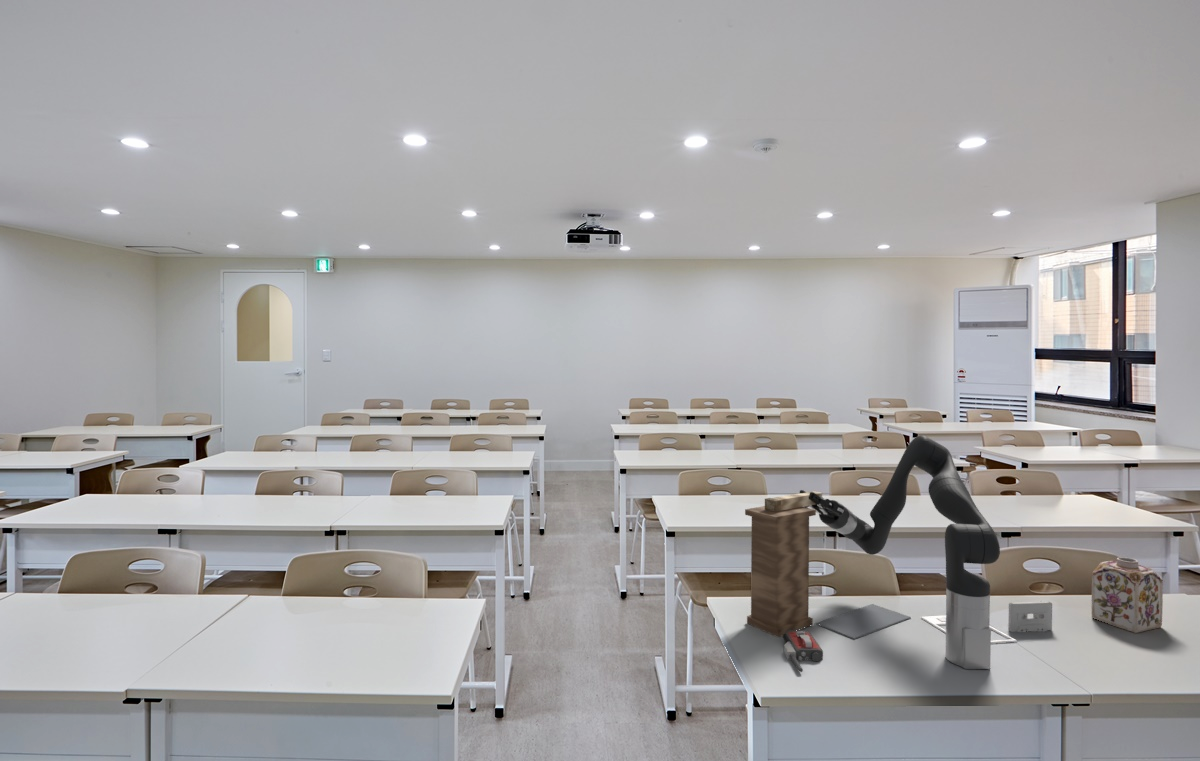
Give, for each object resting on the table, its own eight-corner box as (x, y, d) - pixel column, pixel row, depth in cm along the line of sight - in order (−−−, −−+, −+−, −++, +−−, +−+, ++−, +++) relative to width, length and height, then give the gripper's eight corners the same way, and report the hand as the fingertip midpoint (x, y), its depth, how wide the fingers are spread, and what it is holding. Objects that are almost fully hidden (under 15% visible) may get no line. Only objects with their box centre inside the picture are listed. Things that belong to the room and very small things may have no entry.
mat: (853, 639, 169) (854, 638, 169) (816, 624, 179) (816, 622, 179) (910, 618, 183) (910, 616, 183) (872, 605, 193) (872, 603, 193)
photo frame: (968, 613, 185) (1016, 639, 167) (968, 617, 185) (1016, 643, 167) (921, 616, 183) (965, 642, 165) (921, 620, 183) (965, 647, 165)
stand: (775, 637, 170) (776, 517, 169) (744, 624, 179) (745, 509, 178) (814, 624, 179) (815, 509, 178) (783, 612, 188) (784, 502, 187)
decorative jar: (1163, 628, 177) (1165, 562, 176) (1137, 634, 172) (1138, 567, 172) (1115, 612, 188) (1116, 551, 187) (1089, 618, 183) (1090, 555, 183)
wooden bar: (775, 512, 174) (776, 501, 174) (764, 509, 178) (764, 498, 178) (823, 503, 185) (823, 493, 185) (812, 501, 189) (812, 490, 189)
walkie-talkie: (775, 640, 170) (796, 676, 150) (775, 623, 170) (796, 657, 150) (808, 640, 169) (834, 677, 149) (809, 623, 169) (834, 658, 149)
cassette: (1048, 628, 176) (1048, 600, 176) (1053, 631, 174) (1054, 603, 174) (1006, 630, 175) (1007, 602, 175) (1011, 632, 174) (1012, 604, 173)
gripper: (822, 501, 199) (790, 478, 191) (863, 510, 187) (830, 485, 179) (814, 524, 197) (781, 501, 189) (854, 534, 185) (821, 510, 177)
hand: (805, 494), depth 184 cm, fingers closed on wooden bar, 3 cm apart
